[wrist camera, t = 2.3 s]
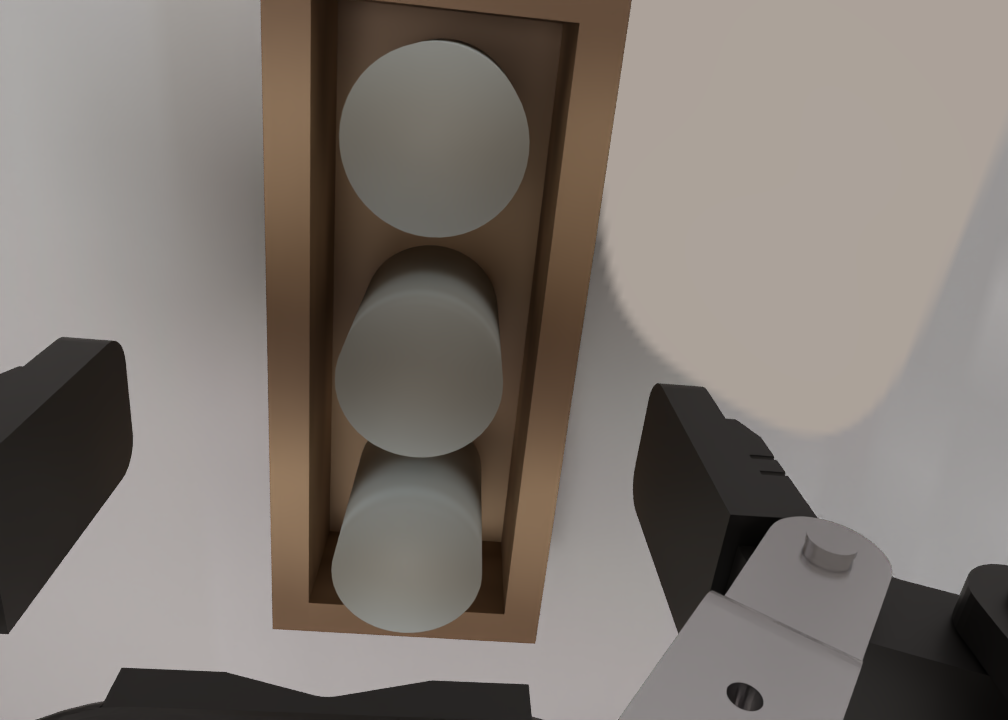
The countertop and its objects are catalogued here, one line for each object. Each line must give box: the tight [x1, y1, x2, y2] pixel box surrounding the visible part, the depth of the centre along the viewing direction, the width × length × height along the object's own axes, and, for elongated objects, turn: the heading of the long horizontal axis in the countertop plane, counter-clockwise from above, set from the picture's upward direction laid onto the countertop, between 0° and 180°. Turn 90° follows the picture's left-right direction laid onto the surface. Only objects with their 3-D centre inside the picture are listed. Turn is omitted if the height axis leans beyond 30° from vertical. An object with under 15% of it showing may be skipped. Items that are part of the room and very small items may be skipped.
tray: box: [261, 0, 632, 644], centre depth 16 cm, size 14×6×5 cm, turn 174°
